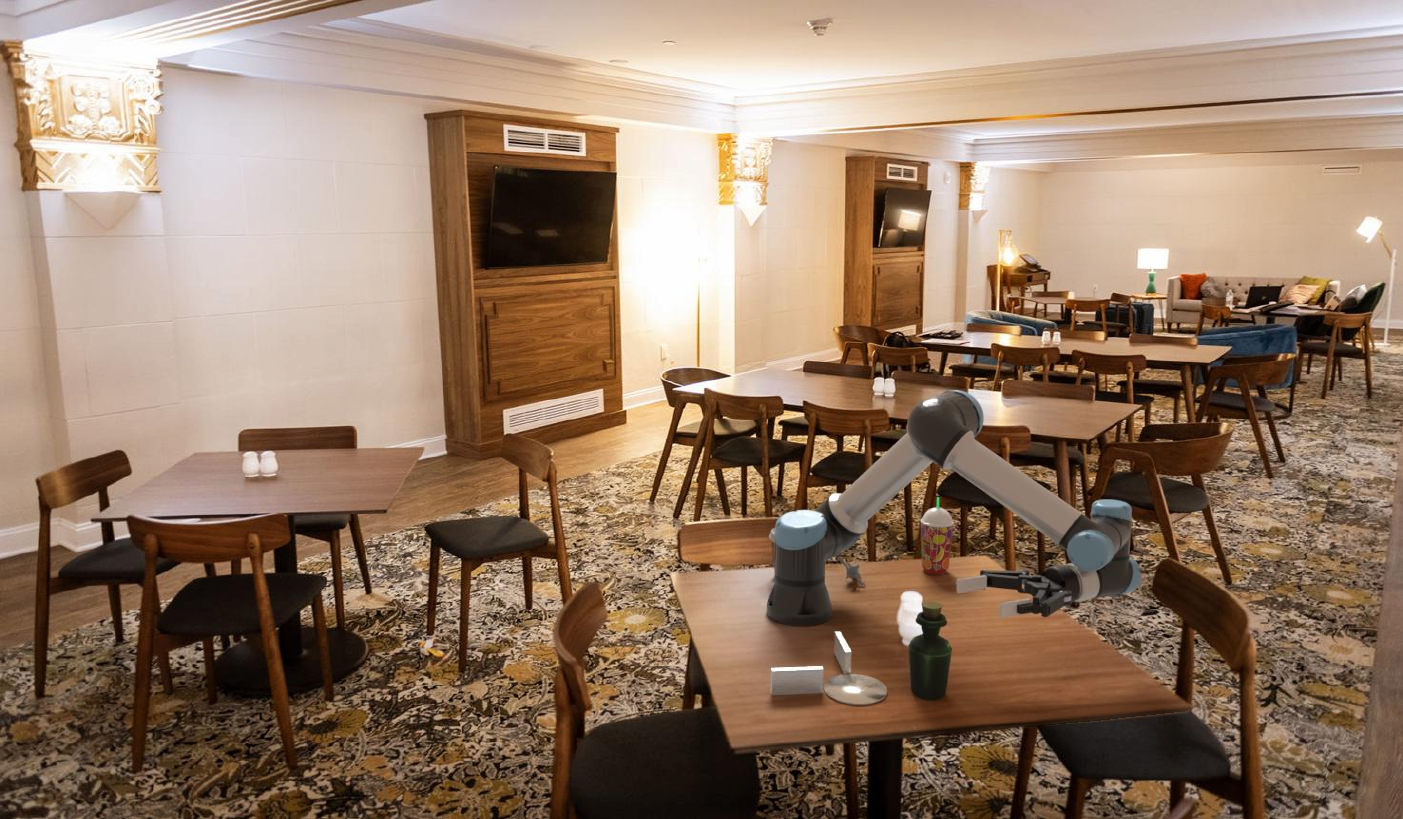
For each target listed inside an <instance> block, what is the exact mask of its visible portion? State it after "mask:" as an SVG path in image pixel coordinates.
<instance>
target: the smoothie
mask: <svg viewBox="0 0 1403 819" xmlns="http://www.w3.org/2000/svg"><path fill="white" fill-rule="evenodd" d="M954 524H955V522H954V520H953V518H952V516H951V513H949V512H948V510H946V509H945V508H943V507H940V497H938V496H937V497H936V506H935V507H932V508H929V509H927V510H926V512H924V515H923V516H922V518H921V519H920V541H921V567H922V568H923V571H924V573H926V574H928V575H933V576H941V575H945V574H946V573H947V570H948V569H949V568H950V558H951V549H952V538H953V533H954V532H953V531H954Z"/></svg>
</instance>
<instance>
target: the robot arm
mask: <svg viewBox="0 0 1403 819" xmlns="http://www.w3.org/2000/svg"><path fill="white" fill-rule="evenodd" d="M983 426H984V411H983V408H982V406H981V404H980V402H979V401H978V400H977V399H976V398H975V397H974V395H972V394H970V393H968V392H966V391H965V390H964V391H963V390H955V389H954V390H946V391H944V392H941V393H940V394H939V395H936V396H932V397H928V398H926V399H924V400H922V401H919V403H916V405H915V406H914V407H913V408H912V409H911V411H910V412H909V416H908V418H907V424H906V433H905V434H904V435H903V436H902V437H901V438H899V440H898V441H897V442H895V444H893V445H892V446H891V447H890V448H889V449H888V450H887V451H886V452H885V453H884V454H882V456H881V457H879V458H878V460H876V461H875V462H874V463H873V464H872V465H871V466H870V467H869V468H868V469H867V470H866V471H865V472H863V474H861V475H860V476H859V477H858V478H857V479H856V480H855V481H854V482H853V483H852V484H850V485H849V487H848V488H847V489H846V490H844V491H843V492H842V493H841V492H840V493H839V492H834V493H832V494H831V495H830V496H829V497H827V499H825V500H824V501H823V502H822V503H821V504H820V505H819V506H818V507H817V508H816V509H815V510H810V509H809V510H808V509H797V510H795V511H789V512H786V513H784V514H782V515H781V516H779V517H778V519H777V520H776V522H775V527H774V528H775V532H774V539H775V572H774V580H773V581H774V582H773V584H772V588H771V590H770V593H769V595H768V599H767V602H766V614H767V615H766V616H767V617H769V619H771V620H772V619H773V620H772V621H774V620H775V621H774V622H776V621H777V623H779V622H780V624H784V625H788V626H796V627H808V626H809V627H811V626H815V625H820V624H822V623H826V622H827V621H829V620H831V618H832V616H833V614H832V613H833V606H832V605H833V604H832V602H831V598H830V596H829V592H828V589H827V585H826V561H828V560H830V559H832V558H833V557H835V556H838V555H839V554H841V553H843V552H845V551H847V550H849V549H851V548H852V547H853V546H854V545H855V544H856V543H857V542H858V540H859V539H860V536H862V535H863V534H864V533H865V532H866V531H867V529H868V526H869V522H868V520H870V519H871V518H872V517H873V516H874V515H875V514H876V513H878V512H879V511H880V510H881V509H882V508H884V507H885V505H886V504H887V503H888V502H890V501H891V500H893V498H894V497H896V495H898V494H899V493H900V492H901V491H902V490H903V489H904V488H906V487H907V486H908V485H909V484H910V483H911V482H912V481H914V479H916V478H917V476H920V474H921V473H922V472H923V471H925V469H927V468H928V467H929V466H930V465H932V463H934V464H936V465H937V466H938V467H940V468H941V469H943V470H944V471H949V470H952V471H953V472H955V473H957V474H958V475H960V476H961V477H962V478H964V479H965V480H967V482H970V483H971V484H973V485H974V486H975V487H977V488H978V489H980V490H981V491H982V492H984V493H985V494H986V495H988V496H989V497H990V498H992V499H994V500H995V501H996V502H998V503H999V504H1000V505H1002V506H1003V507H1004V508H1006V509H1007V510H1009V511H1011V513H1013V514H1015V515H1016V516H1018V517H1019V518H1020V519H1021V520H1023V521H1025V522H1026V523H1027V524H1028V525H1030V526H1032V527H1033V528H1034V529H1036V530H1037V531H1038V532H1040V533H1042V534H1043V535H1044V536H1046V537H1047V538H1049V539H1050V540H1052V542H1054V543H1055V544H1057V545H1058V546H1060V547H1061V548H1062V549H1064V550H1065V551H1066V554H1067V557H1068V559H1069V561H1070V562H1071V563H1066V564H1060V565H1053V566H1049V567H1047V568H1045V570H1043V572H1042V573H1041V574H1033V575H1030V570H1028V569H1027V570H1026V569H1025V570H995V569H994V570H992V569H989V570H987V569H985V570H984V569H982V570H979V575H976V576H969V577H964V578H963V577H962V578H957V579H956V593H957V594H964V593H970V592H976V591H986V590H987V588H995V589H1001V590H1002V589H1003V590H1004V589H1005V590H1011V591H1017V592H1018V593H1019V594H1025V595H1026V594H1027V595H1031V597H1032V599H1031V598H1029V597H1026V598H1021V599H1014V600H1009V601H1003V602H999V605H998V618H1001V619H1004V618H1009V617H1010V618H1011V617H1015V616H1022V615H1027V614H1031V613H1032V614H1033V615H1038V614H1041V617H1043V618H1048V617H1049V616H1051V615H1052V614H1054V613H1055V612H1057V611H1058V610H1060V609H1062V608H1063V607H1067V606H1071V605H1072V603H1075V602H1076V603H1082V602H1083V601H1087V600H1093V599H1098V598H1100V599H1101V598H1105V597H1111V596H1113V597H1114V596H1122V595H1125V594H1127V593H1131V592H1134V591H1135V590H1137V589H1138V588H1139V586H1140V584H1141V582H1142V572H1141V571H1140V565H1139V564H1138V562H1137V561H1136V560H1135V559H1134V558H1133V557H1132V556H1130V549H1131V548H1130V547H1131V537H1132V536H1131V534H1132V525H1133V524H1132V523H1133V522H1134V521H1133V518H1132V514H1133V513H1132V512H1133V509H1132V506H1131V505H1130V504H1129V503H1128V502H1126V501H1122V500H1118V499H1105V498H1103V499H1098V500H1095V501H1094V502H1093V503H1092V504H1091V511H1090V513H1089V516H1090V518H1089V517H1087V515H1084V514H1083V513H1082V512H1080V511H1079V510H1078V509H1076V508H1075V507H1073V506H1072V505H1070V504H1069V503H1067V502H1066V501H1064V500H1063V499H1062V498H1060V497H1059V496H1058V495H1056V494H1055V493H1053V492H1051V491H1050V490H1049V489H1047V488H1046V487H1044V486H1043V485H1041V484H1040V483H1038V482H1037V481H1036V480H1034V479H1033V478H1032V477H1030V476H1029V475H1027V474H1025V473H1024V472H1023V471H1021V470H1019V469H1018V468H1017V467H1015V466H1014V465H1013V464H1011V463H1009V462H1008V461H1006V460H1005V459H1003V458H1002V457H1001V456H1000V455H998V454H997V453H995V452H993V451H992V450H991V449H989V448H988V447H986V446H985V445H983V444H982V443H980V441H978V440H976V439H975V438H976V437H977V435H979V434H980V432H981V430H982V428H983ZM1023 586H1024V588H1023Z"/></svg>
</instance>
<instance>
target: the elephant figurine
mask: <svg viewBox="0 0 1403 819" xmlns="http://www.w3.org/2000/svg"><path fill="white" fill-rule="evenodd" d="M837 559H838V561H840V563H841V564H842V565H843V566H844V567H845V569H846V570H845V571H846V577H845V579H846V580H847V579H848V578H849V579H855V580H856V581H857V582H858V583H859V585H860V586H862V587H865V586H866V587H867V585H866V584H865V583H866V582H867V581H866V580H865V581H862V580H861V578H860V577H861V575H862V572H860V571H859V569H860V568H861V567H862V565H859V564H858V563H859V561H857V562H856V563H855V564H853V565H852V564H850V562H847V563H846V561H845V560H844V559H845V556H842V557H841V555H839V556H838V557H837ZM858 576H859V577H858ZM863 585H864V586H863Z"/></svg>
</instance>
